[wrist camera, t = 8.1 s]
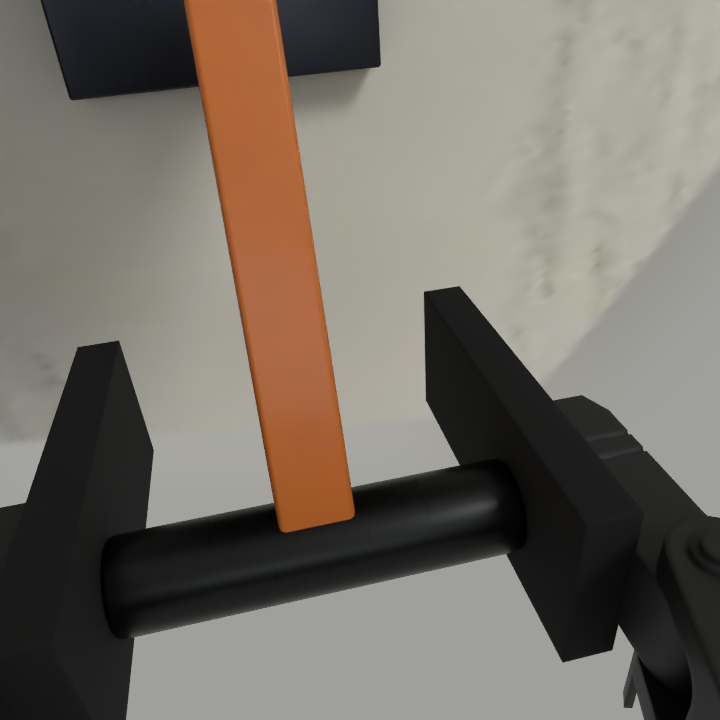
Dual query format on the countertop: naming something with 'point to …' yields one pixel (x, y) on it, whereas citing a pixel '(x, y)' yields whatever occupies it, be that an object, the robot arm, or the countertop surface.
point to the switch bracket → (174, 49)
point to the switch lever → (289, 393)
